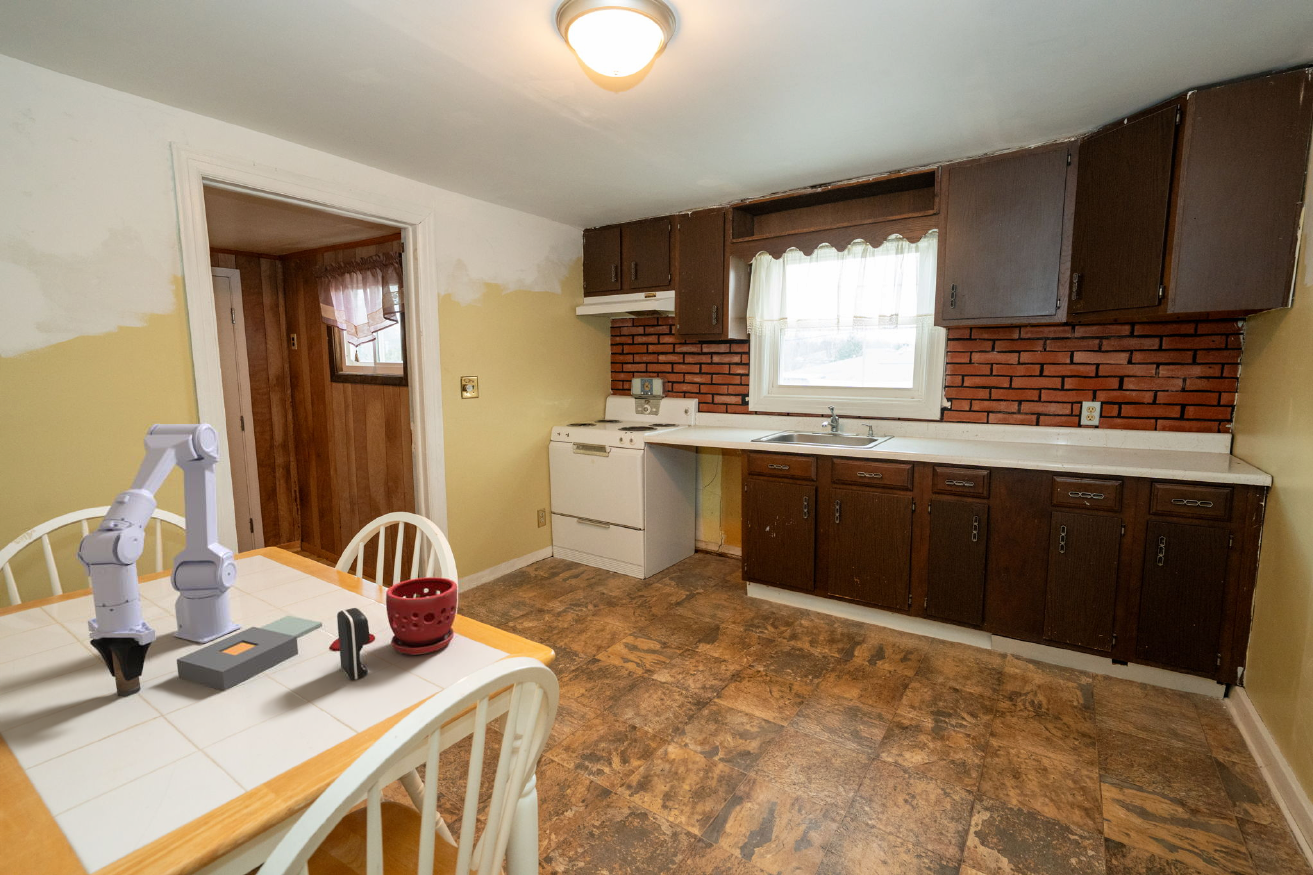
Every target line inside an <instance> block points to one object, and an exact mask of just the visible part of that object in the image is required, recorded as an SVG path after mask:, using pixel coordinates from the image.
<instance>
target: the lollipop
mask: <svg viewBox="0 0 1313 875" xmlns="http://www.w3.org/2000/svg"><path fill="white" fill-rule="evenodd" d="M369 635H370V640H369V642H368V643H366V644H363V646H367V645H369V644H372V643H373V642H375V641H376V637H375V635H374V634H373V633H370V632H369ZM329 649H330V650H331V651H332V652H333V651H334V652H340V647H339V637H338V638H336V639H335V640H333V641H332V643H331V644H330V646H329Z"/></svg>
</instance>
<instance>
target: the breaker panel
mask: <svg viewBox="0 0 1313 875" xmlns="http://www.w3.org/2000/svg"><path fill="white" fill-rule="evenodd" d="M240 643H247V644H251V645H255V646H254V647H252V648H250V649H248V650H246V651H244V652H241V653H239V654H237V655H232V654H228V653H224V652H222V651H224V650H227V649H229V648H231V647H233V646H236V645H238V644H240ZM298 654H299V647H298V638H297V636H292V635H288V634H283V633H279V632H275V631H270V630H266V629H261V627H256V626H251V627H249V628H247V629H245V630H241V631H239V632H237V633H235V634H233V635H231V636H228V637H226V638H223V639H221V640H218V641H216V642H213V643H212V644H209V645H207V646H204V647H202V648H200V649H198V650H195V651H193V652H191V653H188V654H186V655H184V656H181V657H179V658H177V659H176V666H177V676H178V678H179V679H182V680H186V681H188V682H192V683H196V684H199V685H203V686H206V687H210V688H214V689H217V690H220V691H224V692H226V691H227V690H229V689H231V688H233V687H235V686H237V685H239V684H241V683H243V682H245V681H247V680H249V679H251V678H253V677H255V676H256V675H259V674H261V673H263V672H264V671H267V670H269V669H271V668H272V667H274V666H276V665H279V664H281V663H284V661H285V662H286V660H289V659H291V658H292V657H294V656H296V655H298Z"/></svg>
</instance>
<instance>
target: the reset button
mask: <svg viewBox="0 0 1313 875" xmlns="http://www.w3.org/2000/svg"><path fill="white" fill-rule="evenodd" d="M254 646H255V645H251V644H247V643H240V644H238V645H236V646H233V647H231V648H229V649H227V650H224V651H222V652H224V653H228V654H232V655H237V654H239V653H241V652H244V651H246V650H248V649H250V648H252V647H254Z"/></svg>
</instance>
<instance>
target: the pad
mask: <svg viewBox="0 0 1313 875" xmlns="http://www.w3.org/2000/svg"><path fill="white" fill-rule="evenodd" d="M322 627H323V622H320V621H316V620H311V619H306V618H301V617H297V616H292V615H286V616H284V617H282V618H279V619H277V620H275V621H274V620H273V621H272V622H270V623H268V624H265V625H263V626H261V627H260V628H261V629H266V630H270V631H275V632H279V633H283V634H288V635H292V636H297V639H298V638H301V637H302V636H305V635H307V634H309V633H311V632H313V631H316V630H318V629H320V628H322Z"/></svg>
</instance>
